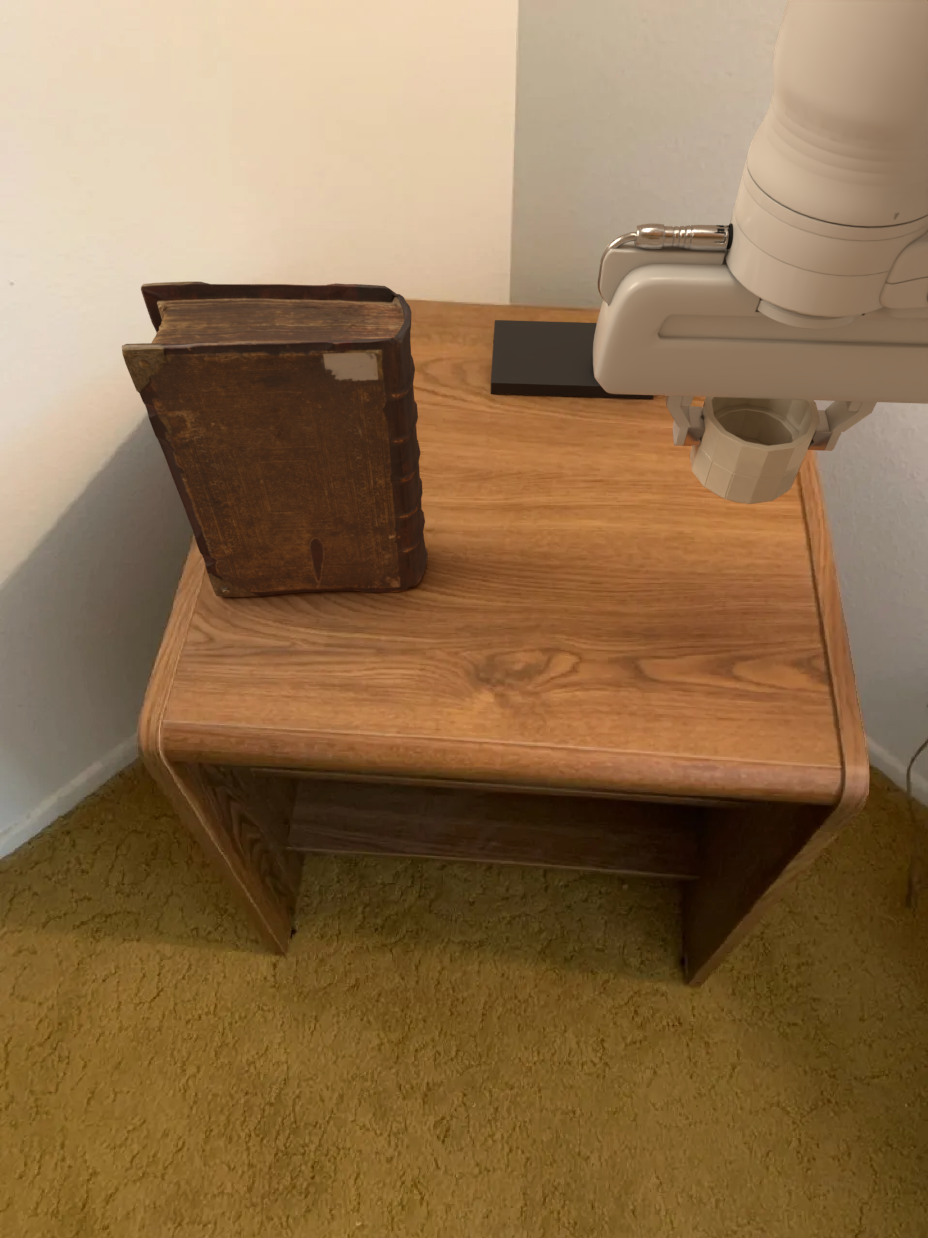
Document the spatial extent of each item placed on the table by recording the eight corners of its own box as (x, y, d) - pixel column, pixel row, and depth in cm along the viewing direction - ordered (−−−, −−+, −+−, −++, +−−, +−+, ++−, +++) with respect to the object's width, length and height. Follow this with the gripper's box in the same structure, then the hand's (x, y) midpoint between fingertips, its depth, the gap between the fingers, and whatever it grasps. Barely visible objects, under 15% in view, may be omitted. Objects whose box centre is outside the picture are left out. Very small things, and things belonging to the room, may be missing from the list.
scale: (647, 335, 90) (652, 310, 88) (653, 401, 85) (658, 376, 83) (494, 331, 91) (494, 305, 88) (490, 396, 86) (490, 371, 83)
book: (432, 544, 76) (415, 281, 55) (422, 615, 72) (400, 360, 51) (232, 532, 77) (142, 269, 56) (211, 601, 73) (107, 346, 52)
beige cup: (785, 434, 59) (809, 372, 55) (801, 512, 55) (828, 452, 51) (684, 431, 59) (700, 369, 55) (693, 508, 55) (711, 448, 51)
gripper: (607, 264, 42) (578, 473, 54) (1062, 276, 42) (934, 485, 53) (603, 186, 46) (576, 398, 57) (1022, 196, 45) (910, 409, 57)
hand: (751, 440), depth 55 cm, fingers closed on beige cup, 6 cm apart
